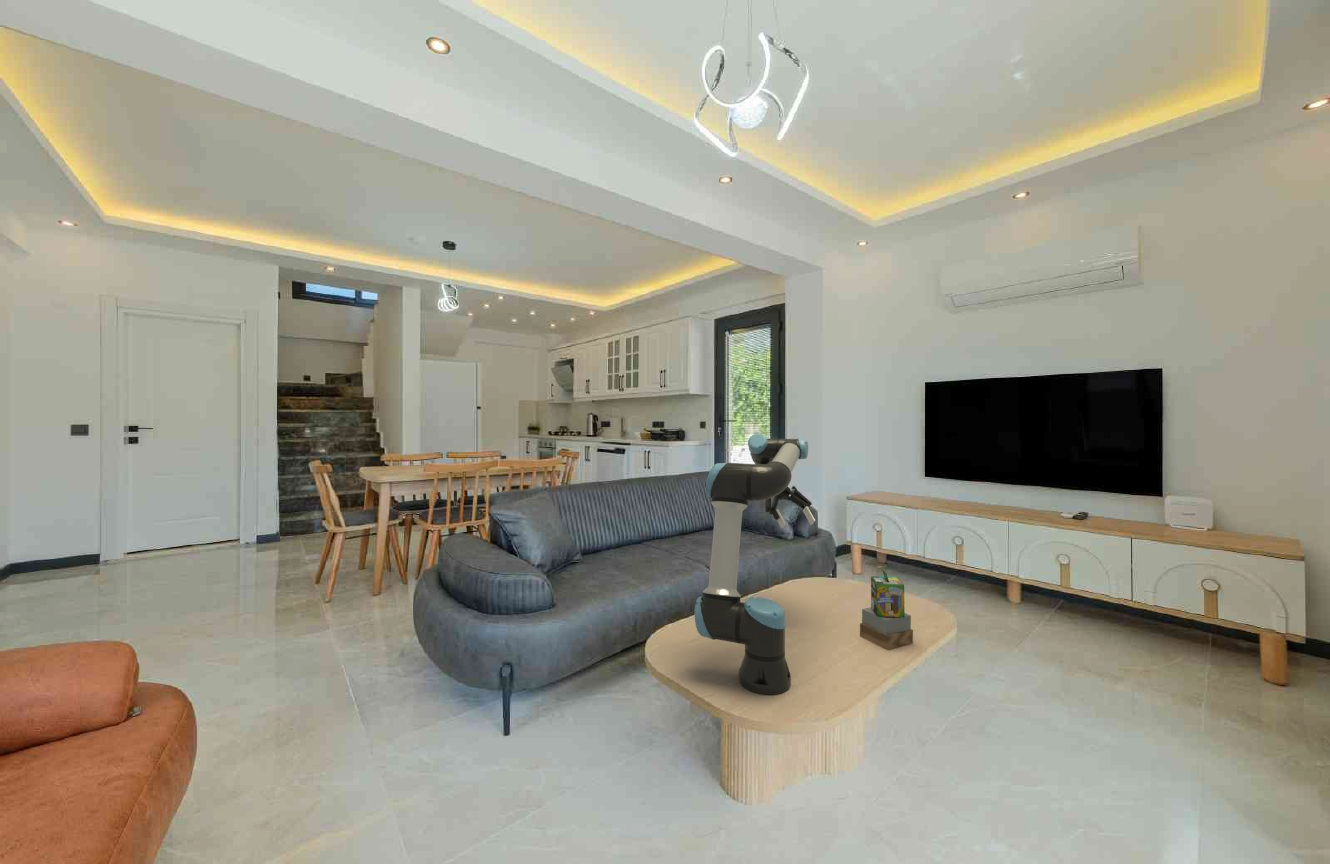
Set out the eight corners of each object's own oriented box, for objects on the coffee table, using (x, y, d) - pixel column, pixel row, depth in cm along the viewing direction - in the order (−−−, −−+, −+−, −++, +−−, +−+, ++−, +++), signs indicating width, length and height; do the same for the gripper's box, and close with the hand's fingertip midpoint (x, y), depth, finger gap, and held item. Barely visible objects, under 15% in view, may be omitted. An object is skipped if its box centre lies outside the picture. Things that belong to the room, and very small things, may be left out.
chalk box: (904, 618, 175) (905, 575, 175) (876, 617, 177) (876, 574, 176) (897, 608, 185) (897, 566, 184) (870, 606, 186) (870, 565, 185)
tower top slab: (885, 635, 174) (886, 620, 174) (862, 622, 184) (862, 608, 184) (910, 629, 178) (910, 615, 178) (885, 617, 189) (886, 604, 188)
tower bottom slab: (887, 651, 173) (887, 636, 173) (859, 637, 184) (860, 623, 184) (912, 644, 179) (912, 629, 178) (884, 630, 189) (884, 617, 189)
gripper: (794, 482, 213) (819, 526, 200) (743, 486, 202) (766, 533, 189) (803, 471, 208) (829, 515, 195) (751, 474, 197) (775, 521, 184)
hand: (798, 524), depth 192 cm, fingers open, 13 cm apart
